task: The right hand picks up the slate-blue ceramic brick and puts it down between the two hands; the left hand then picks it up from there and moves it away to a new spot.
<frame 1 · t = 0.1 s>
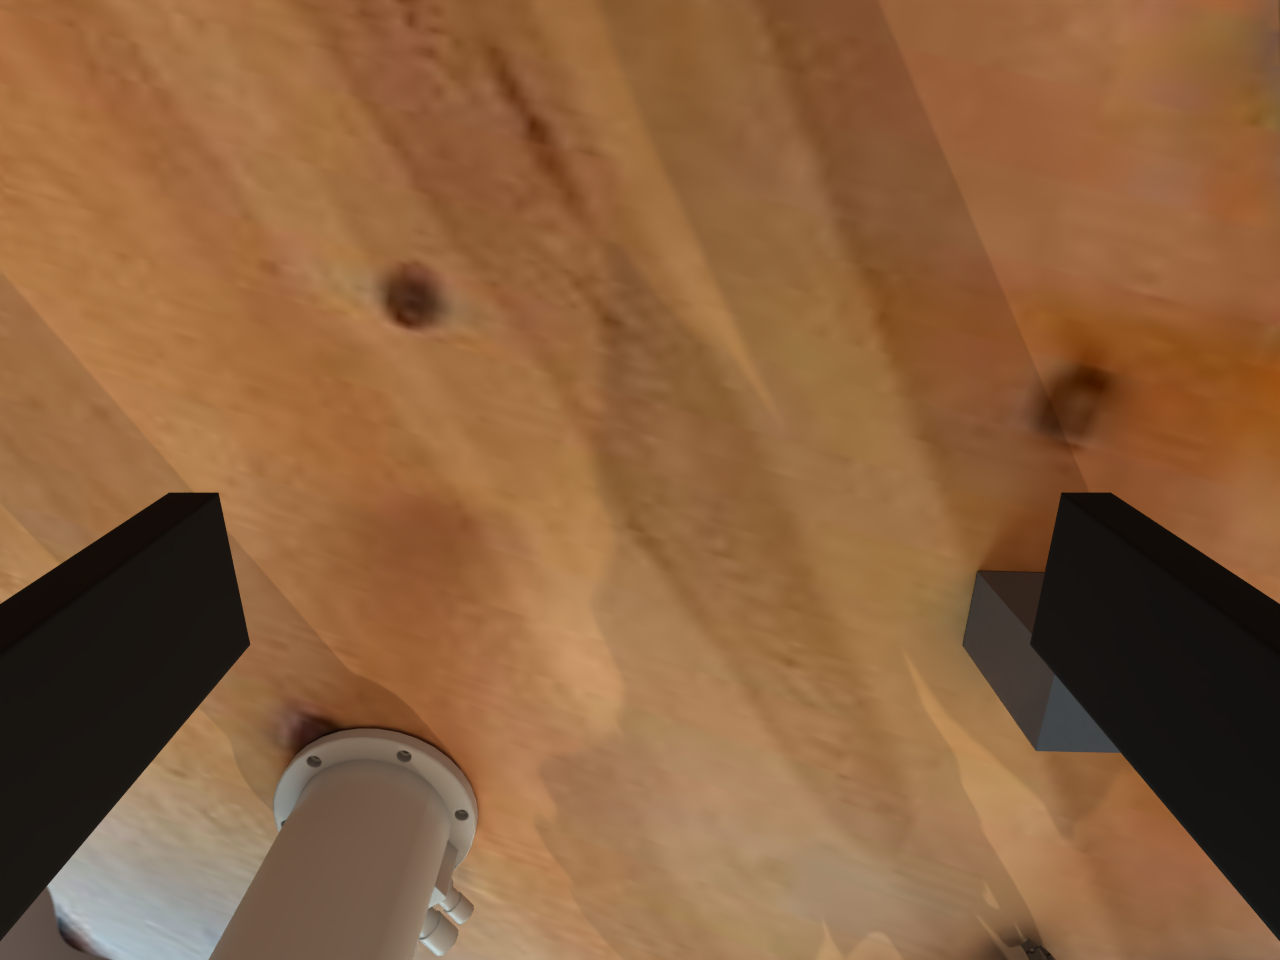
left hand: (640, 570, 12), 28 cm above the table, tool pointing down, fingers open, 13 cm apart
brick: (1042, 610, 45), on the table
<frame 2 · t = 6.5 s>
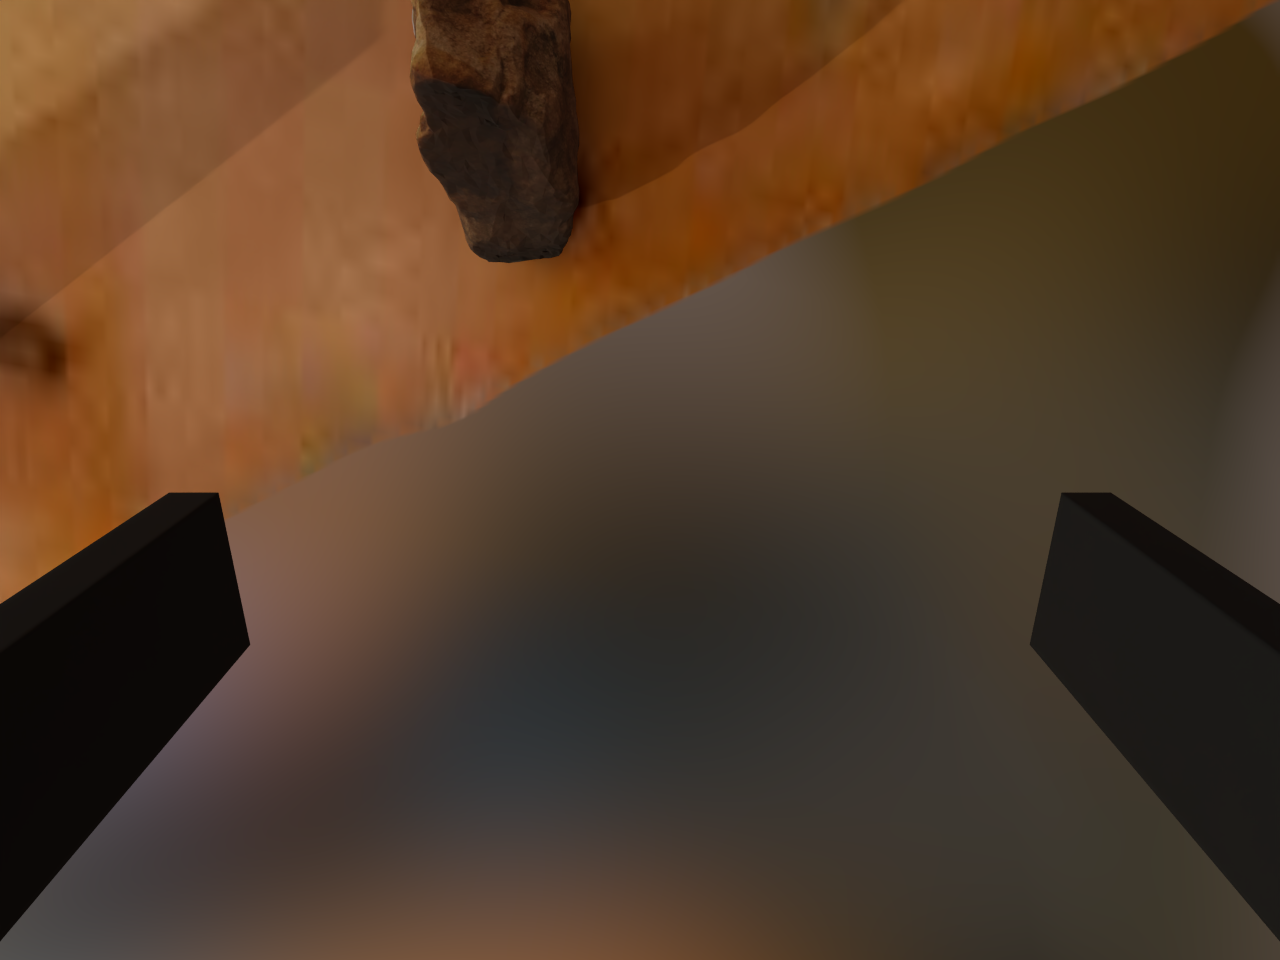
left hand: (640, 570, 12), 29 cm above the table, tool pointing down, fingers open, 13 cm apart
decorative rock: (517, 122, 36), on the table
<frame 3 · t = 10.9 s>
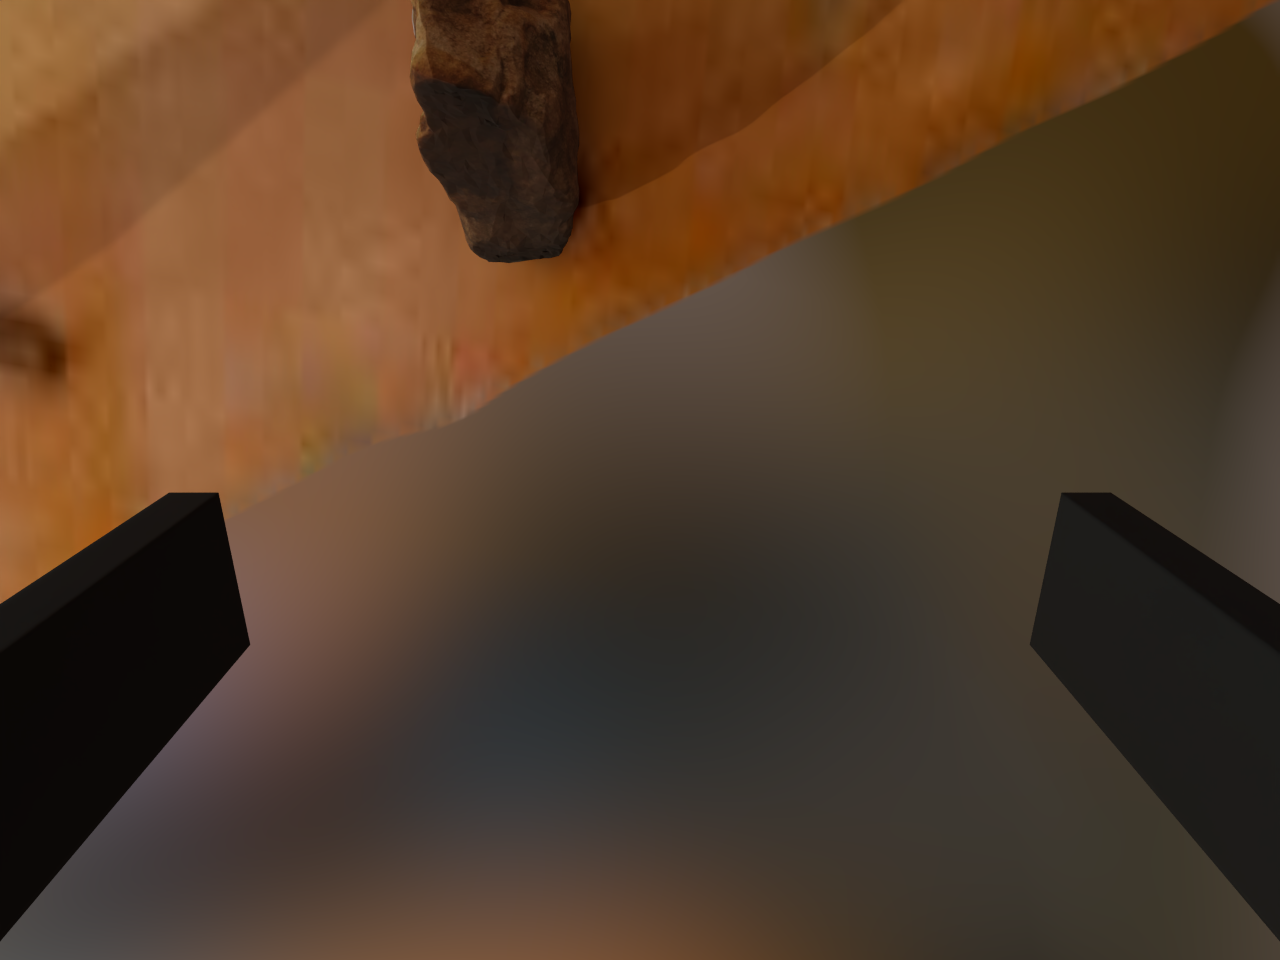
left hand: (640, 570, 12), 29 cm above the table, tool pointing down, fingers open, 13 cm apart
decorative rock: (517, 122, 36), on the table
when the right hand's fingers open (6 cm above the table, at t = 15.4 s): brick drops 2 cm, on the table.
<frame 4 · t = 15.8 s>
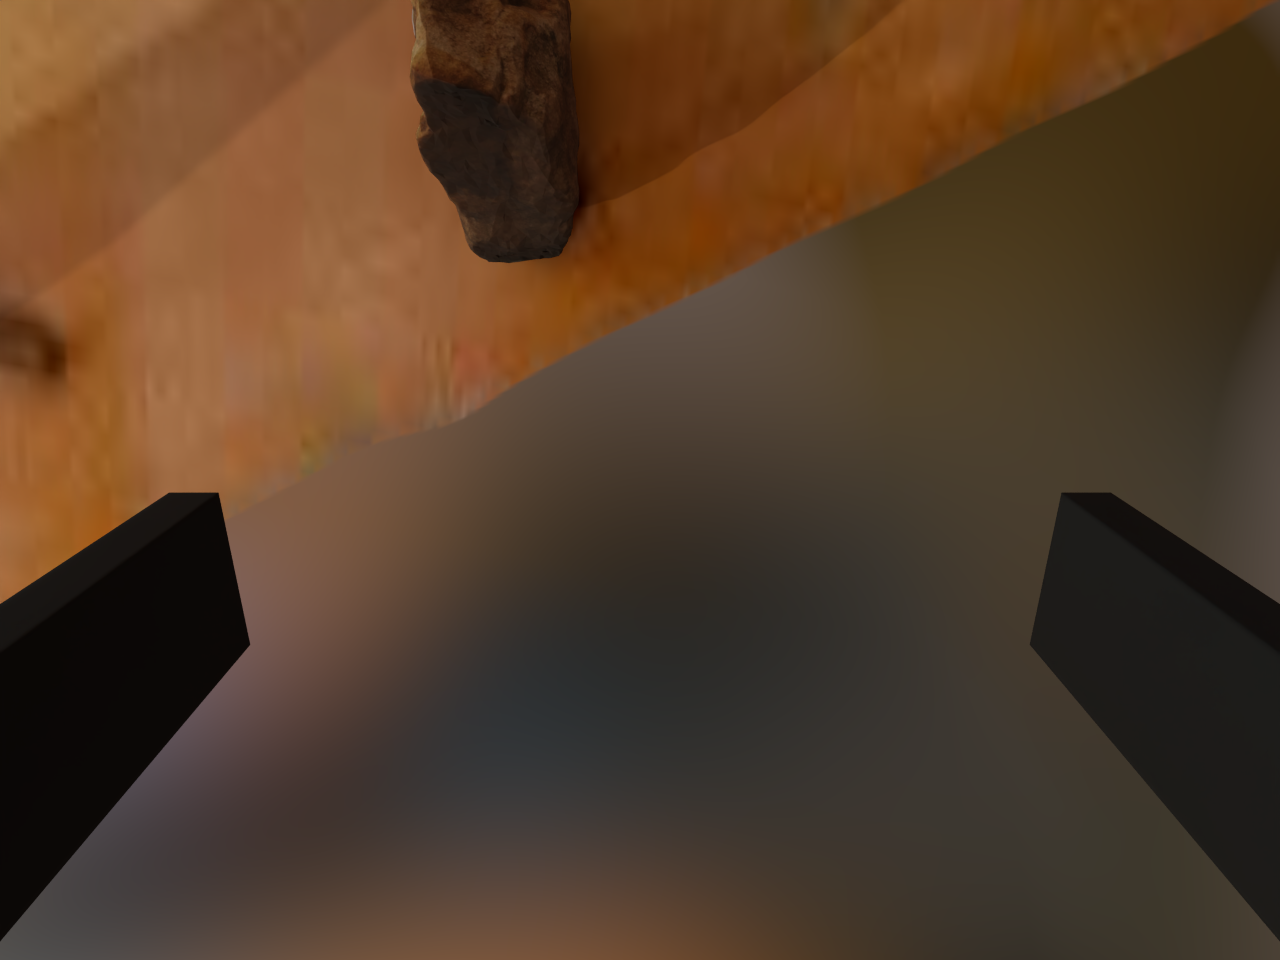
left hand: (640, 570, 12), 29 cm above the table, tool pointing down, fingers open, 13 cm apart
decorative rock: (517, 122, 36), on the table
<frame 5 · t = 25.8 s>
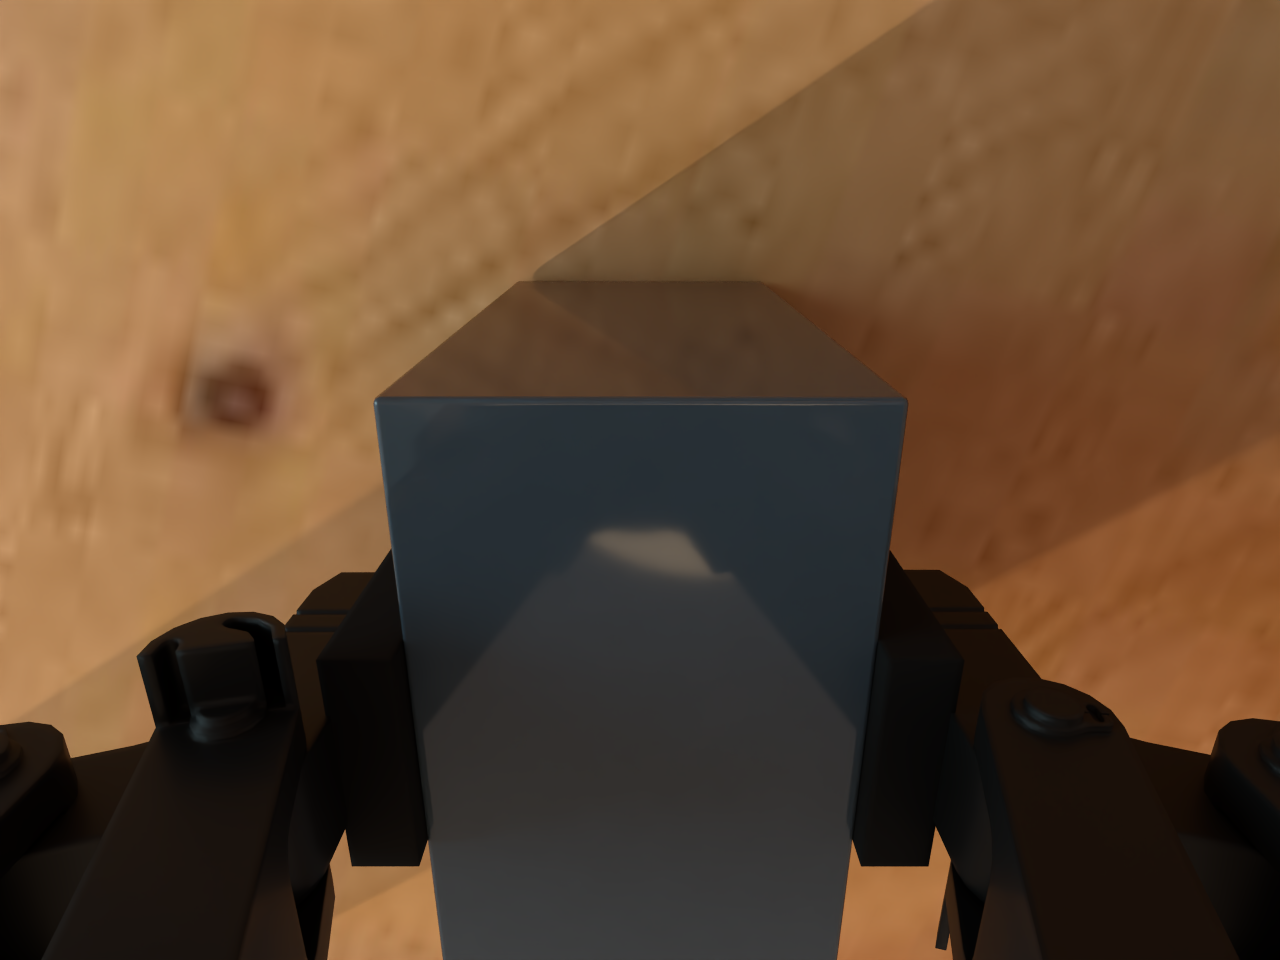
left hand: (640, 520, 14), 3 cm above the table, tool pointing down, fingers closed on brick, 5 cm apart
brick: (639, 477, 17), on the table, touching left hand
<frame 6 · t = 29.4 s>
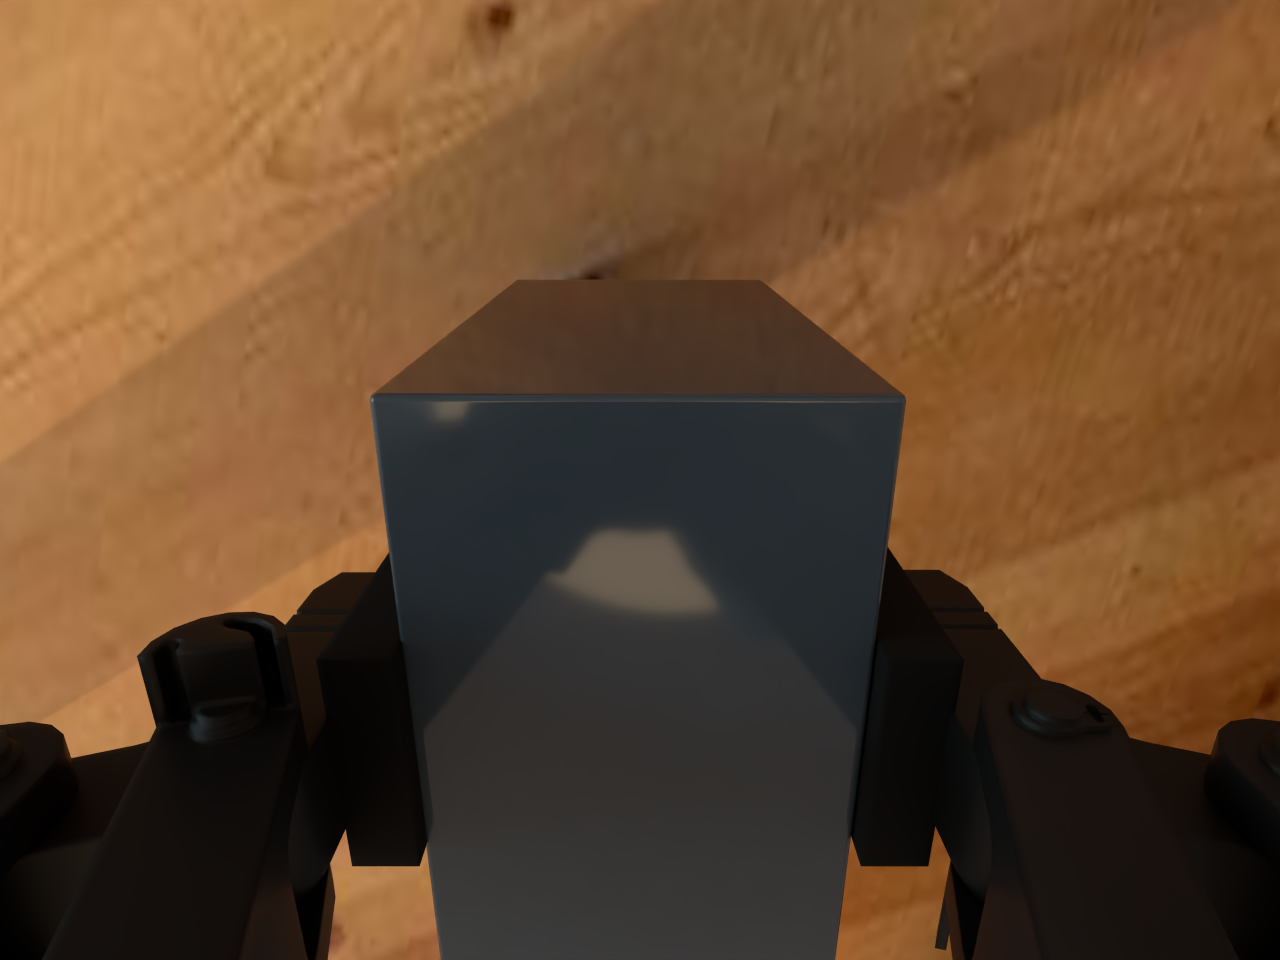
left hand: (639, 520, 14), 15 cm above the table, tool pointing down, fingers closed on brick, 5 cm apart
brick: (638, 475, 17), point 12 cm above the table, touching left hand
when the left hand's fingers open (5 cm above the table, at t = 33.2 s): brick drops 2 cm, on the table.
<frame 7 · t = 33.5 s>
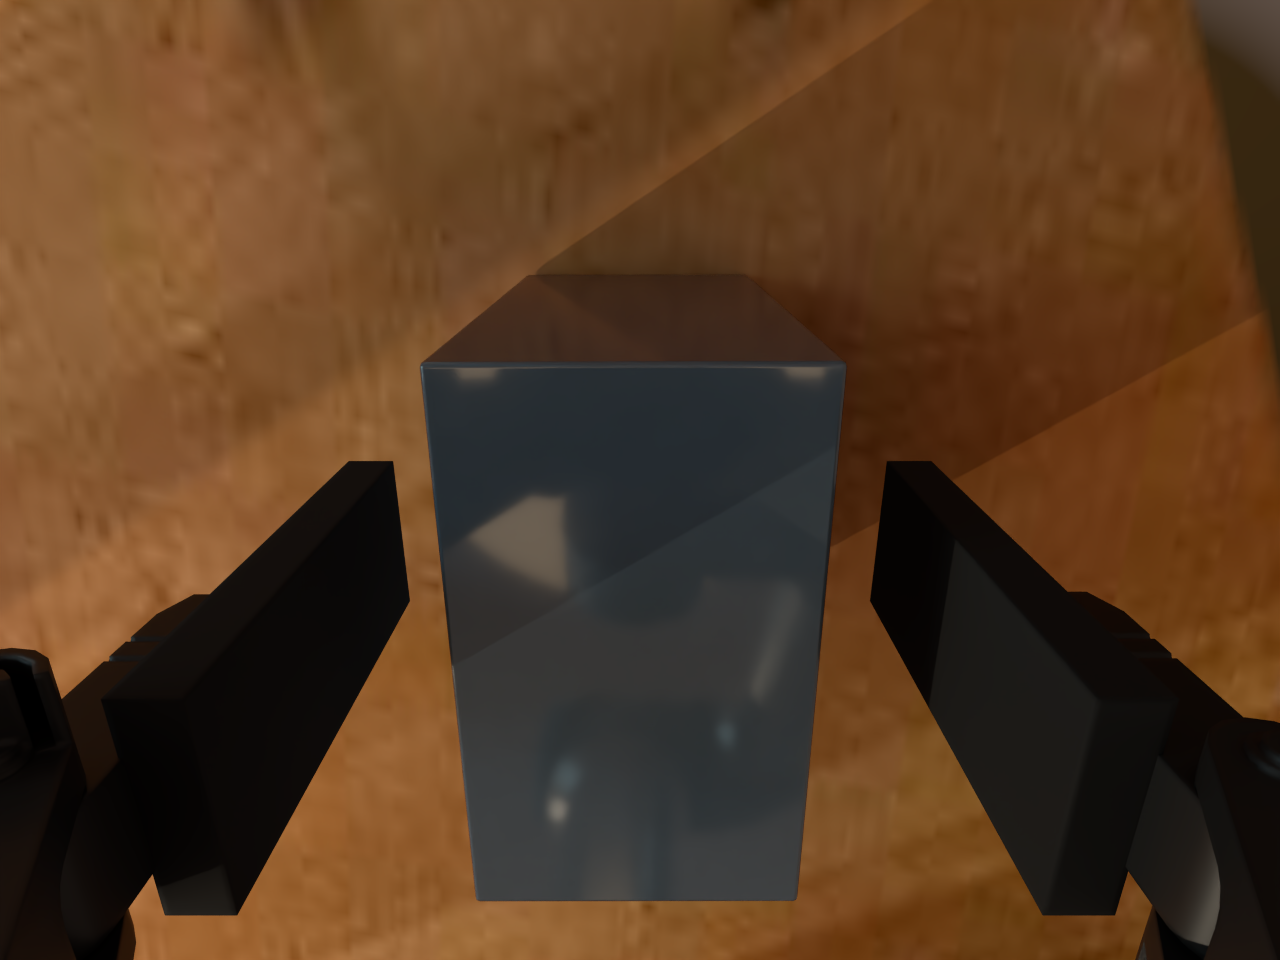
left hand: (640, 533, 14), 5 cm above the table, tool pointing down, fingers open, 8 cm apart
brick: (637, 452, 19), on the table
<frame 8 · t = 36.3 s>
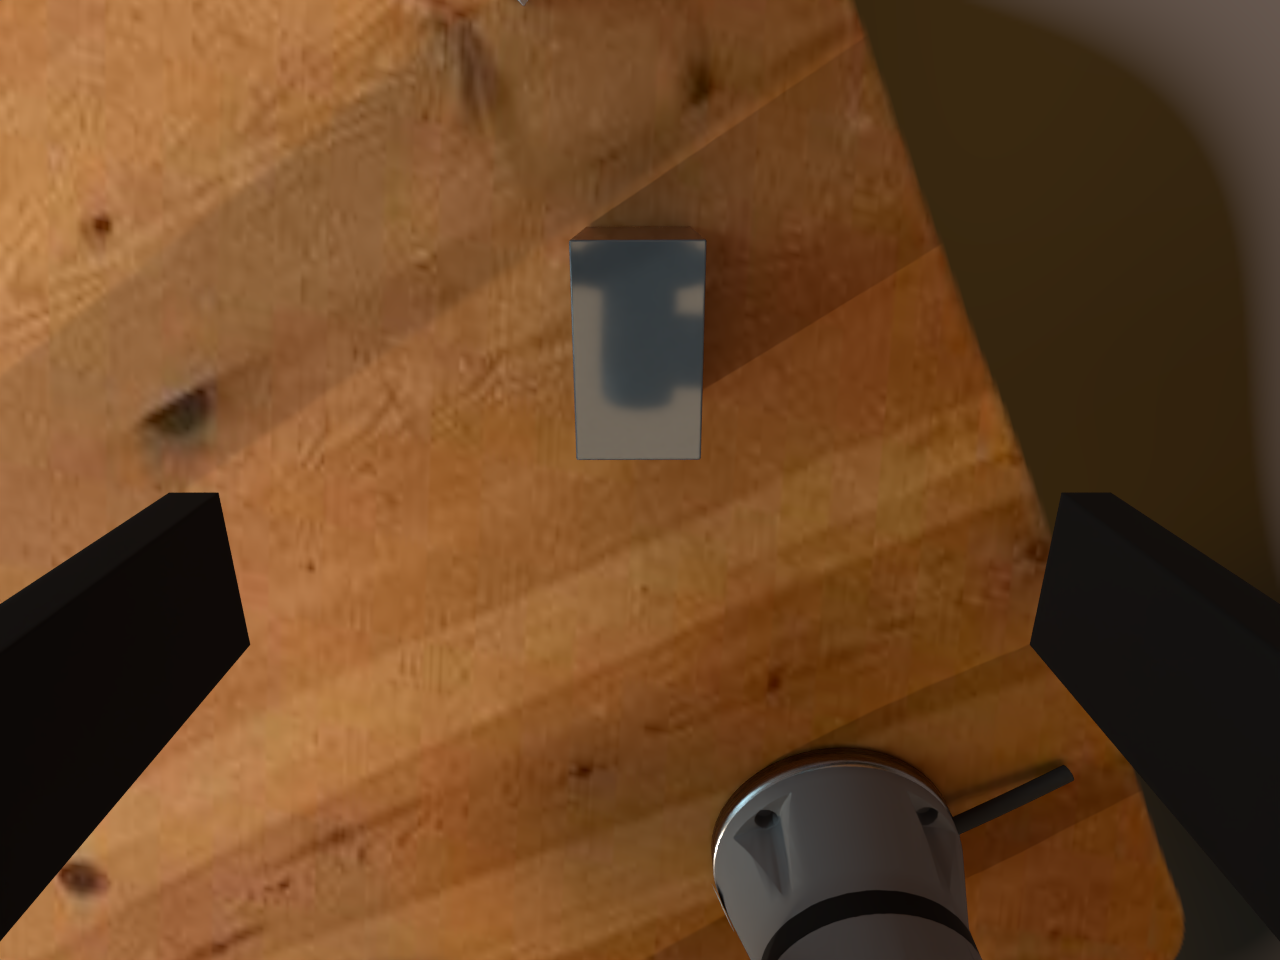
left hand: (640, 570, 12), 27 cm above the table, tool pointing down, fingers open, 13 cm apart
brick: (638, 316, 38), on the table
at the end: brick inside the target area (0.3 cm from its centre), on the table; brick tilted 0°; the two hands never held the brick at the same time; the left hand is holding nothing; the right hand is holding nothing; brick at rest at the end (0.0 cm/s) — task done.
